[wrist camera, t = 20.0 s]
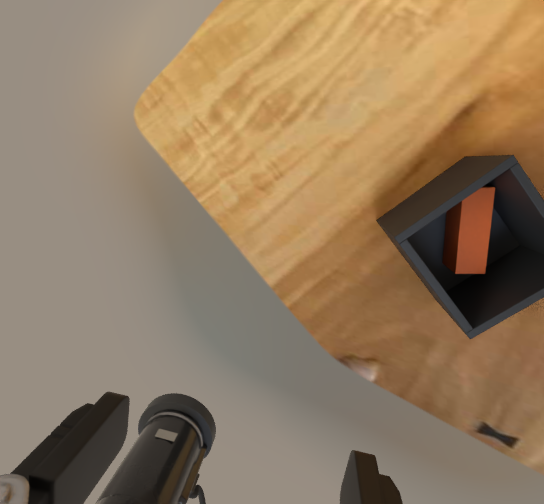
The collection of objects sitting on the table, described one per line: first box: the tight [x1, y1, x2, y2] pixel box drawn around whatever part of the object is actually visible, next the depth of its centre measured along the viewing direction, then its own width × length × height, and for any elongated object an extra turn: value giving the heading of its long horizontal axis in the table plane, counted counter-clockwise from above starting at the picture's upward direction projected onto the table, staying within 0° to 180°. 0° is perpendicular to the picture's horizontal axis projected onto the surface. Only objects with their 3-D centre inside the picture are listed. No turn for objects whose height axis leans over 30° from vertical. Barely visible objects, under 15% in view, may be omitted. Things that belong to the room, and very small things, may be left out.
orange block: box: [442, 186, 495, 274], centre depth 38 cm, size 4×3×9 cm
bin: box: [376, 155, 544, 339], centre depth 36 cm, size 13×12×10 cm
